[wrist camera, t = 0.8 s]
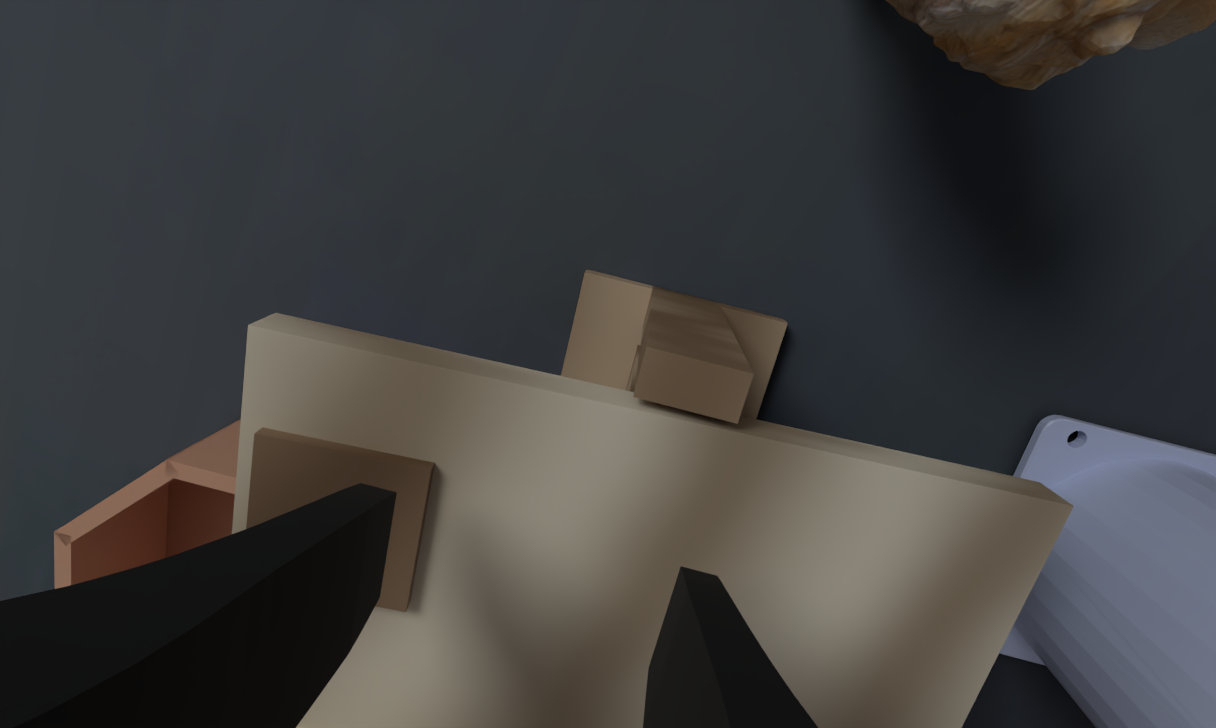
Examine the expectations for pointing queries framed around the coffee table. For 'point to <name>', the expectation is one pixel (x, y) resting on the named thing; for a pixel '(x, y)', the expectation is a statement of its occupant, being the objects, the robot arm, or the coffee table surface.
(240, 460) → the lever
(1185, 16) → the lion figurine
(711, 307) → the lever stand
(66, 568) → the octagonal bowl
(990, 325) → the coffee table surface
